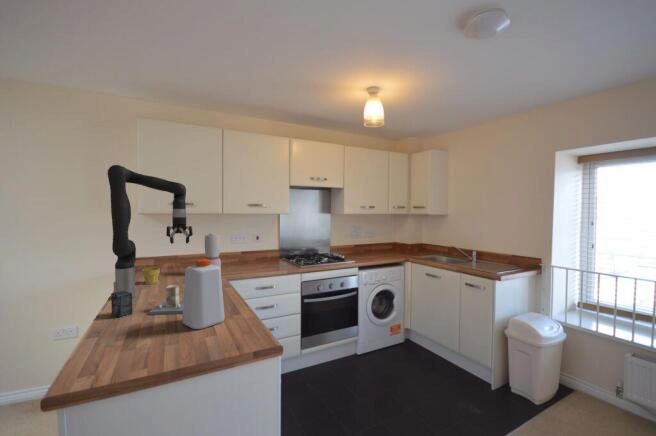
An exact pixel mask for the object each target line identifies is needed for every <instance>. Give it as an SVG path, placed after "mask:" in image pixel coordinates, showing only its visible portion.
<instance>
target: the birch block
mask: <svg viewBox="0 0 656 436" xmlns="http://www.w3.org/2000/svg"><path fill="white" fill-rule="evenodd" d="M165 293H166V294H165V295H166V296H165V298H166V299H165V302H166V307H177V304H179V301H180V284H172V285H171V284H169V285H168V286H166V287H165Z"/></svg>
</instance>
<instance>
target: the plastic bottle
mask: <svg viewBox="0 0 656 436" xmlns="http://www.w3.org/2000/svg"><path fill="white" fill-rule="evenodd" d="M182 301H183V314H182V320H181V322H182V324H183V325H185V326H186V327H189V328H191V329H193V330H202V329H203V330H204V329H206V328H209V327H211V326H215V325H218V324H219V325H220V324H221V323H223V322H224V321H225V306H224V295H223V283H222V268H221V269H220V267H219V266H216V265H211V264H210V260H209V259H206V258H202V259H197V260H195V265H191V266H188V267H186V268H185V272H184V288H183V300H182Z"/></svg>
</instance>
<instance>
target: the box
mask: <svg viewBox="0 0 656 436" xmlns="http://www.w3.org/2000/svg"><path fill="white" fill-rule="evenodd" d="M110 294H111V295H110V296H111V298H110V299H111V301H110V303H111V304H110V305H111V315H112V316H115V317H117V318H120V317H121V318H124V317H123V316H125V317H128V316H130V315H131V316H132V315H133V298H132V293H129V292H126V291H120V292H115V293H114V292H112V293H110ZM127 315H128V316H127Z"/></svg>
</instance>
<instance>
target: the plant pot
mask: <svg viewBox="0 0 656 436" xmlns="http://www.w3.org/2000/svg"><path fill="white" fill-rule="evenodd" d="M160 270H161V269H160V268H159V267H148V268H144V269H142V270H141V272H142V273H141V274H142V275H143V278H144V281H145V284H146V285H155V284H157V283H158V280H159V275H160V273H161V271H160Z"/></svg>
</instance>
